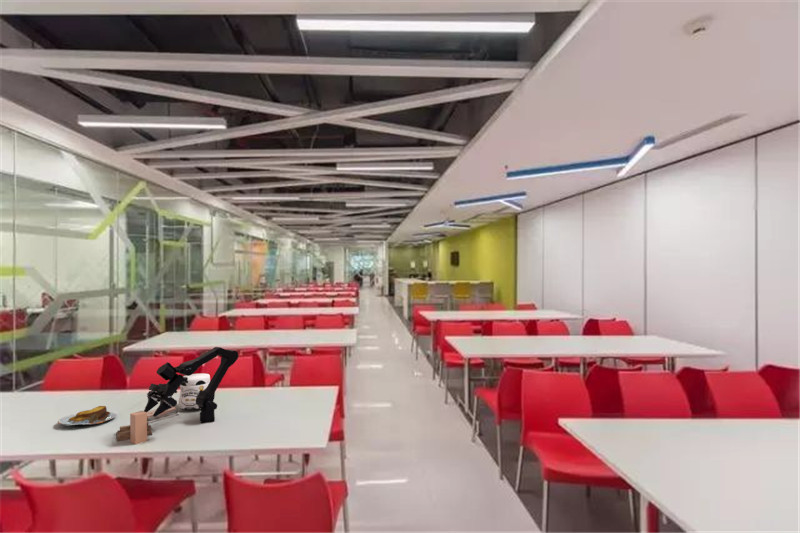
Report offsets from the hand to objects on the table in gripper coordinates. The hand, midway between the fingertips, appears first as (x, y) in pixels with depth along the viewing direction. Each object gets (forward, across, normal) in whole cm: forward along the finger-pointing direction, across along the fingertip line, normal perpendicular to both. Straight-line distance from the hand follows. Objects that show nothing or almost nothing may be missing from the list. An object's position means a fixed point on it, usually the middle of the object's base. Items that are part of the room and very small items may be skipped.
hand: (148, 414), depth 207 cm
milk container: (-19, -27, +35) cm, 48 cm away
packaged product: (-4, -27, +20) cm, 34 cm away
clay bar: (+11, 0, +5) cm, 12 cm away
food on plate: (+13, -52, +4) cm, 54 cm away
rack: (+9, -12, +7) cm, 17 cm away
